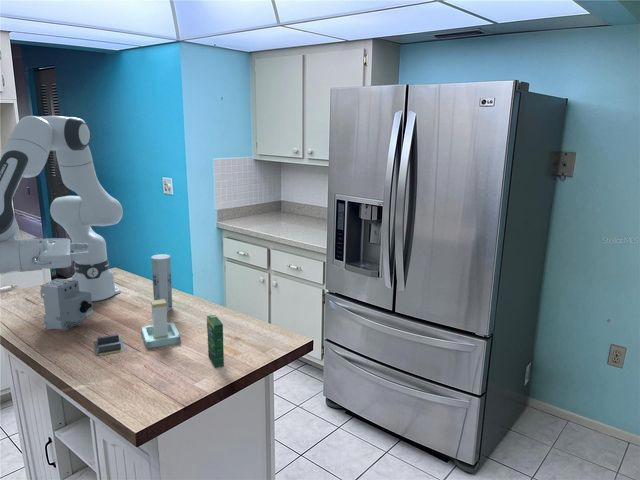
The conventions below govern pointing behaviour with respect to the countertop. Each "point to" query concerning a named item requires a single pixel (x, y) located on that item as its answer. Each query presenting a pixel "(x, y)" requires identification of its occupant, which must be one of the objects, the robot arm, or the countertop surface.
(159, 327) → the fuse
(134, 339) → the countertop surface
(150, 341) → the tray
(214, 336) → the coffee box
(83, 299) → the circuit breaker
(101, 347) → the rails
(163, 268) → the spray can
